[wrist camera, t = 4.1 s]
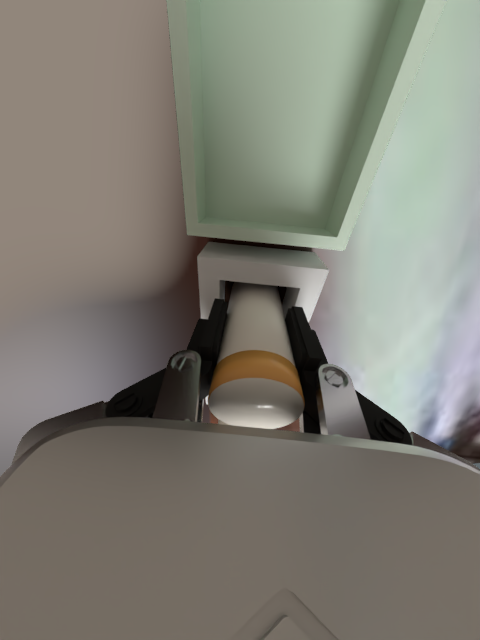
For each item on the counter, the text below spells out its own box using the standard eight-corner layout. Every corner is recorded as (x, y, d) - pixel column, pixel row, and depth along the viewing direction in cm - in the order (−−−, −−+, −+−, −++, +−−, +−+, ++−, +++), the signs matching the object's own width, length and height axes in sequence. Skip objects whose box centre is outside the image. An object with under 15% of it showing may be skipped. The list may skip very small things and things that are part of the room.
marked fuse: (232, 268, 13) (205, 373, 6) (283, 273, 13) (319, 385, 6) (229, 311, 15) (208, 425, 8) (273, 315, 15) (291, 434, 8)
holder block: (208, 241, 12) (197, 256, 10) (314, 252, 12) (329, 270, 10) (211, 378, 21) (206, 404, 19) (272, 385, 21) (274, 411, 19)
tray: (179, -157, 5) (135, -352, 3) (456, -130, 5) (574, -308, 3) (198, 225, 12) (187, 235, 10) (328, 238, 12) (344, 250, 10)
